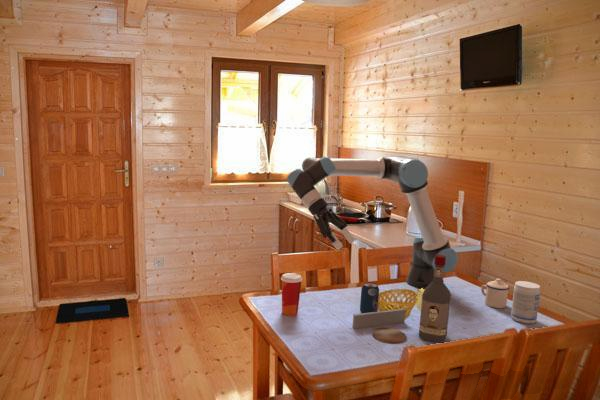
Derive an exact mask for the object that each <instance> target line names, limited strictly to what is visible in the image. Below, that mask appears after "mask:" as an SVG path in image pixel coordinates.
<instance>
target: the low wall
mask: <svg viewBox="0 0 600 400" xmlns="http://www.w3.org/2000/svg"><path fill="white" fill-rule="evenodd" d="M406 312H407V311H406V309H405V308H397V309H389V310H380V311H379V310H378V312H370V313H356V314H355V313H354V314H353V317H352V329H355V330H356V329H361V328H369V327H379V326H385V325H394V324H400V323H405V322H406V321H405V320H406Z"/></svg>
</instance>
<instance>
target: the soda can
mask: <svg viewBox="0 0 600 400" xmlns="http://www.w3.org/2000/svg"><path fill="white" fill-rule="evenodd" d="M379 297H380V289H379V284H377V283H376V282H370V281H367V282H363V284H362V286H361V290H360V302H359V303H360V305H359V311H360V314H362V313H370V312H379Z"/></svg>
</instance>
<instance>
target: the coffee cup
mask: <svg viewBox="0 0 600 400" xmlns="http://www.w3.org/2000/svg"><path fill="white" fill-rule="evenodd" d="M280 281H281V314H282V315H284V316H288V317H293V316H296V315H298V312H299V306H300V305H299V304H300V295H301V287H302V281H303V278H302V275H301V274H298V273H294V272H287V273H286V272H285V273H284V274H282V275H281V277H280Z"/></svg>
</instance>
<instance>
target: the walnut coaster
mask: <svg viewBox="0 0 600 400" xmlns="http://www.w3.org/2000/svg"><path fill="white" fill-rule="evenodd" d="M371 333H372V337H373V338H374V339H375V340H378V341H379V340H380V341H379V342H382V341H383V342H382V343H386V342H388V343H387V344H399V343H400V342H401V343H404V342H406V340H407V334H406V333H405V332H403V331H401V330H399V329H397V328H391V327H379V328H375V329H373V330H372V332H371ZM403 341H404V342H403Z"/></svg>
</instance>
